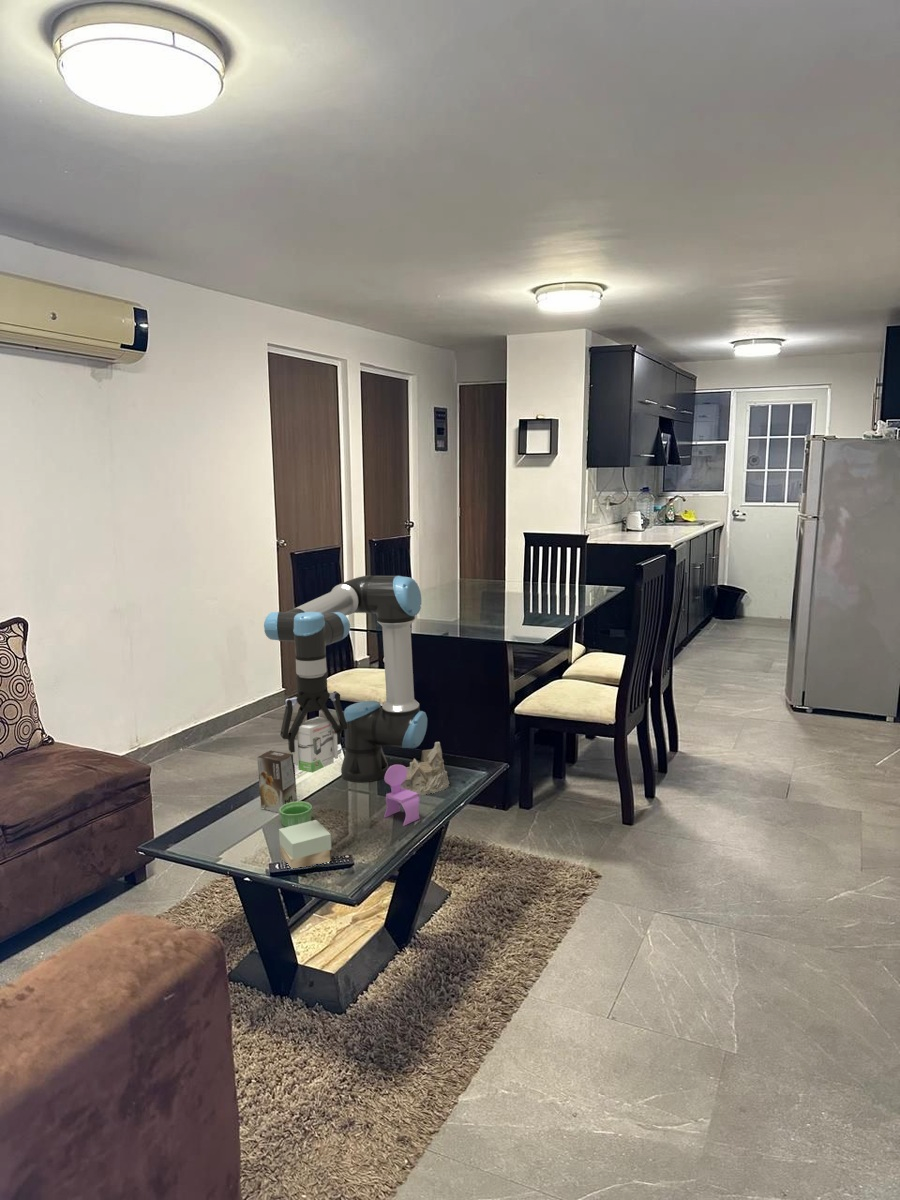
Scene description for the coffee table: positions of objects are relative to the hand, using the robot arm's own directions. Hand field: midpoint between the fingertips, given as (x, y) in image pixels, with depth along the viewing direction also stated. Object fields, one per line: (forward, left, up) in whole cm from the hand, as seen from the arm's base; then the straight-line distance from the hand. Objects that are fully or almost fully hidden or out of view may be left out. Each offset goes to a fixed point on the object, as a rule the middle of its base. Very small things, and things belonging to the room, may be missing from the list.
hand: (315, 760), depth 206 cm
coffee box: (+3, -32, -25) cm, 40 cm away
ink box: (0, 0, -2) cm, 2 cm away
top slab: (+5, +3, -21) cm, 22 cm away
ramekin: (+1, -20, -25) cm, 32 cm away
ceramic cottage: (-41, -27, -25) cm, 55 cm away
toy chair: (-26, -8, -25) cm, 37 cm away
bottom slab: (+5, +3, -25) cm, 25 cm away
